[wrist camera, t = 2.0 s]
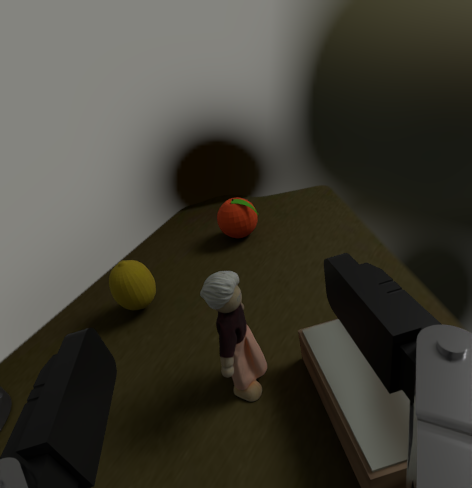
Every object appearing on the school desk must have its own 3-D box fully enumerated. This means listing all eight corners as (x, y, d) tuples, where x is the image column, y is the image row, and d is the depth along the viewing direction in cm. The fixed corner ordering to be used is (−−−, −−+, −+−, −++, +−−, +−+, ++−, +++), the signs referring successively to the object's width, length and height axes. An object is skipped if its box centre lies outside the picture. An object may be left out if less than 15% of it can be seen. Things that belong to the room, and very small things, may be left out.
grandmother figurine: (274, 408, 26) (247, 302, 20) (232, 416, 26) (190, 314, 20) (263, 339, 33) (239, 243, 26) (229, 346, 33) (196, 252, 27)
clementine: (273, 228, 53) (266, 191, 49) (252, 249, 49) (243, 210, 45) (236, 223, 58) (228, 189, 54) (214, 242, 53) (204, 206, 50)
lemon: (166, 312, 40) (143, 264, 36) (125, 328, 39) (97, 281, 35) (161, 289, 45) (140, 244, 41) (124, 303, 44) (99, 259, 40)
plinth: (369, 506, 20) (370, 477, 17) (302, 357, 30) (297, 328, 28) (496, 464, 20) (513, 431, 18) (387, 332, 30) (389, 301, 28)
